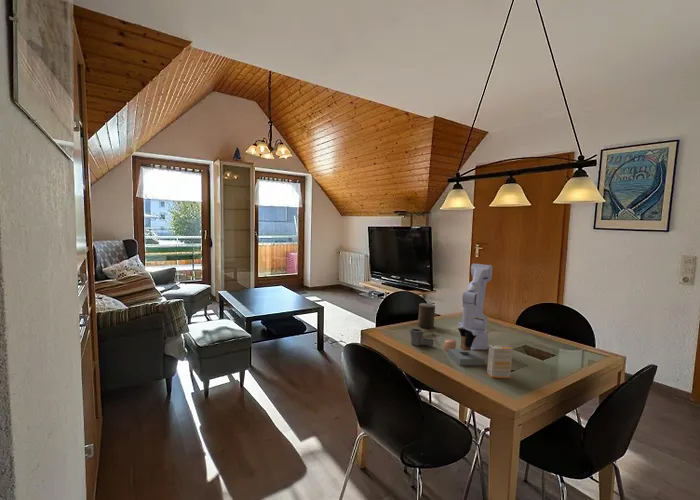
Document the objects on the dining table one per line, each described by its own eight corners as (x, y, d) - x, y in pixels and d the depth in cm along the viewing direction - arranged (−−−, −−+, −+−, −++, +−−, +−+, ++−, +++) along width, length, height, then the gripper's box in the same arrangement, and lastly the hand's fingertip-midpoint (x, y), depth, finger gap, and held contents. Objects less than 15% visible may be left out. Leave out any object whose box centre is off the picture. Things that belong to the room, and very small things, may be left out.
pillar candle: (428, 329, 203) (430, 305, 202) (414, 325, 210) (416, 302, 209) (436, 327, 210) (438, 303, 209) (422, 323, 217) (424, 300, 216)
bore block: (470, 354, 167) (470, 348, 167) (483, 365, 155) (484, 358, 155) (447, 355, 165) (448, 349, 164) (459, 365, 153) (460, 359, 153)
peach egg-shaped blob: (452, 348, 175) (453, 338, 174) (457, 352, 169) (458, 342, 169) (442, 348, 174) (442, 339, 173) (447, 352, 168) (447, 342, 168)
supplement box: (504, 373, 147) (507, 344, 146) (510, 379, 142) (513, 348, 141) (486, 373, 146) (488, 343, 145) (491, 378, 142) (494, 348, 141)
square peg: (467, 347, 161) (468, 335, 161) (470, 350, 158) (471, 338, 157) (460, 347, 161) (461, 335, 160) (463, 350, 157) (464, 338, 157)
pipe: (433, 348, 172) (434, 333, 172) (408, 345, 175) (409, 330, 174) (432, 344, 178) (434, 330, 178) (408, 341, 181) (409, 327, 180)
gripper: (453, 312, 165) (451, 339, 166) (468, 321, 150) (466, 351, 151) (467, 312, 166) (464, 339, 167) (483, 321, 152) (480, 351, 153)
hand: (466, 345), depth 159 cm, fingers closed on square peg, 3 cm apart
